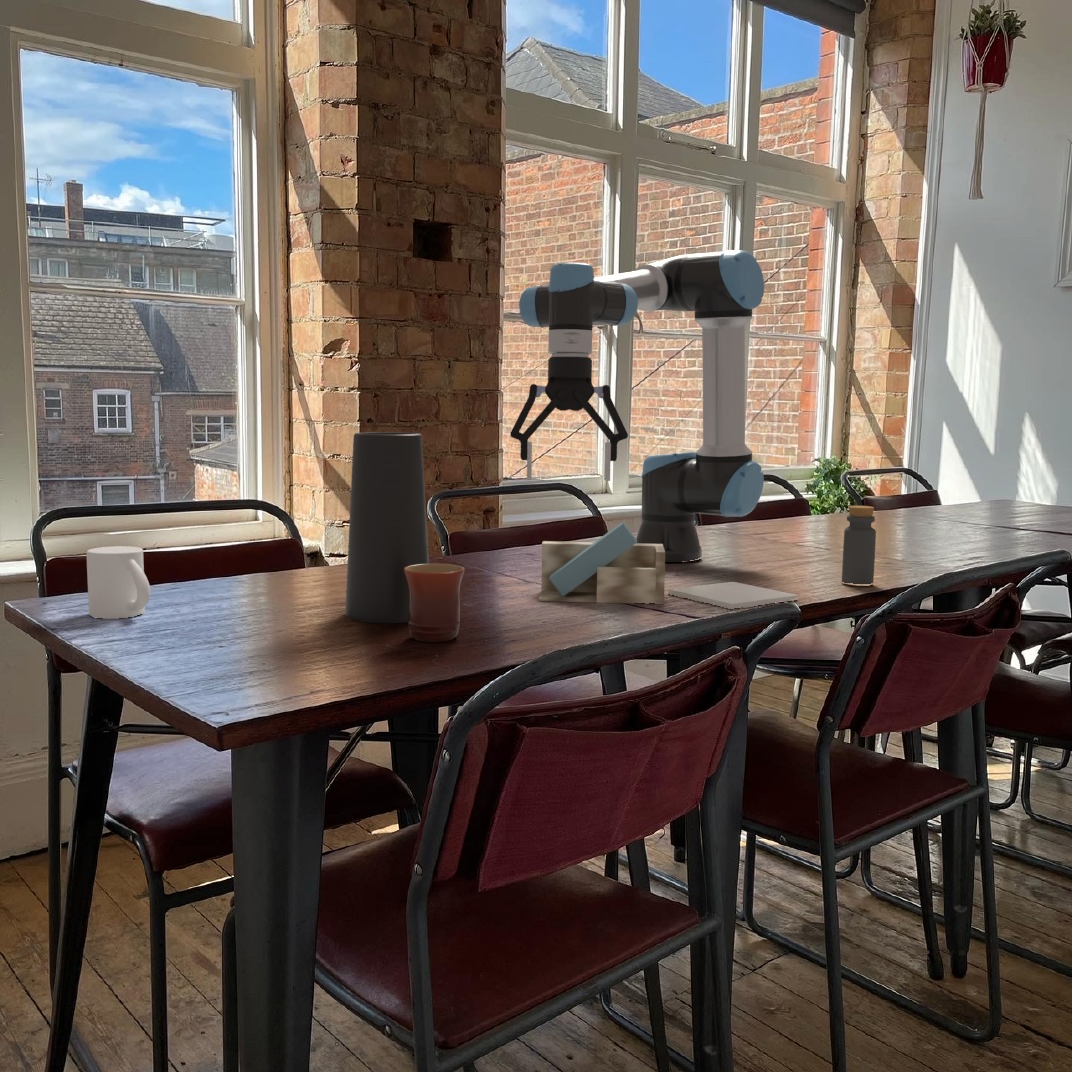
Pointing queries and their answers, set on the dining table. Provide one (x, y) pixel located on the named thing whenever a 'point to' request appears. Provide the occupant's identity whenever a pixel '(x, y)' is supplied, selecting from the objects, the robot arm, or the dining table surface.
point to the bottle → (859, 546)
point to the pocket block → (608, 575)
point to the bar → (593, 558)
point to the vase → (385, 525)
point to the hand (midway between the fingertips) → (568, 480)
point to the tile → (732, 594)
